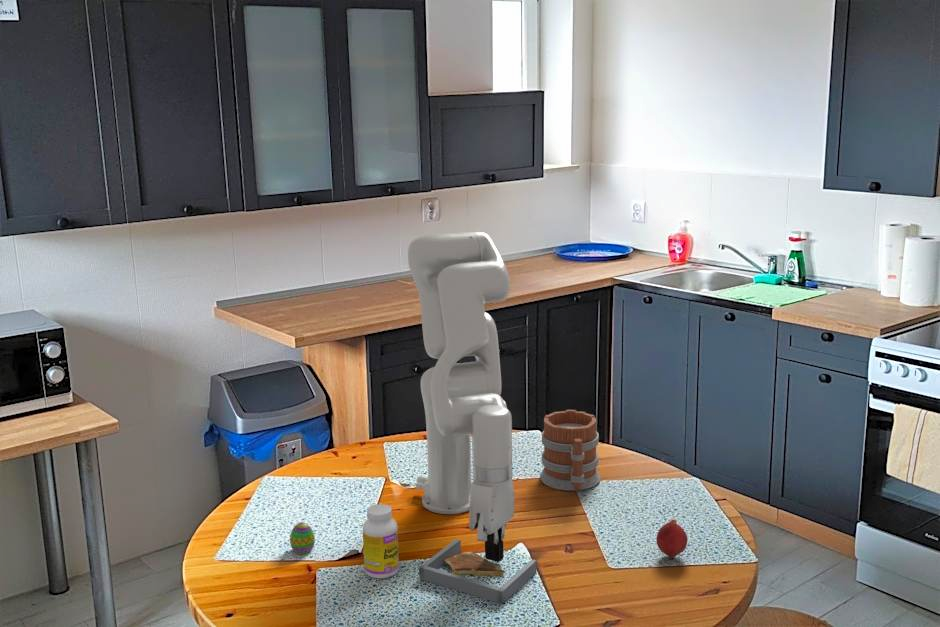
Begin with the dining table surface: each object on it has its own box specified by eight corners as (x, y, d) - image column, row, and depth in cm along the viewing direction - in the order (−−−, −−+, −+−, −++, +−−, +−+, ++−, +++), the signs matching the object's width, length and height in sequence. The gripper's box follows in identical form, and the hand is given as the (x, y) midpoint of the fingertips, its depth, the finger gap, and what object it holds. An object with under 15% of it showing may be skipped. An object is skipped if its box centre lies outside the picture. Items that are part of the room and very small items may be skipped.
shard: (505, 578, 181) (505, 569, 181) (473, 591, 177) (473, 582, 176) (471, 556, 190) (471, 548, 189) (439, 568, 185) (439, 560, 185)
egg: (306, 542, 196) (304, 515, 194) (320, 550, 193) (318, 522, 191) (285, 550, 193) (283, 523, 191) (300, 558, 189) (298, 530, 188)
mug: (594, 466, 231) (594, 407, 227) (610, 500, 212) (610, 436, 208) (536, 468, 230) (535, 409, 226) (547, 503, 211) (546, 439, 208)
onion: (668, 567, 182) (670, 528, 181) (649, 554, 187) (650, 516, 186) (692, 559, 185) (694, 521, 183) (673, 547, 190) (674, 510, 188)
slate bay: (419, 579, 180) (419, 567, 180) (456, 550, 191) (456, 538, 190) (502, 604, 171) (502, 591, 170) (536, 572, 182) (536, 560, 181)
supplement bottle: (385, 583, 179) (382, 520, 176) (357, 574, 183) (354, 512, 180) (406, 567, 185) (403, 506, 182) (378, 559, 188) (375, 499, 185)
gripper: (495, 453, 189) (496, 538, 194) (454, 481, 177) (457, 571, 181) (528, 460, 186) (529, 547, 190) (489, 489, 173) (491, 581, 178)
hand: (494, 558), depth 186 cm, fingers closed
